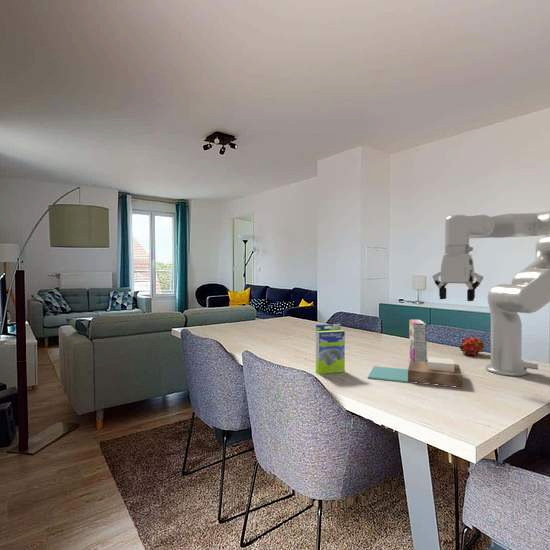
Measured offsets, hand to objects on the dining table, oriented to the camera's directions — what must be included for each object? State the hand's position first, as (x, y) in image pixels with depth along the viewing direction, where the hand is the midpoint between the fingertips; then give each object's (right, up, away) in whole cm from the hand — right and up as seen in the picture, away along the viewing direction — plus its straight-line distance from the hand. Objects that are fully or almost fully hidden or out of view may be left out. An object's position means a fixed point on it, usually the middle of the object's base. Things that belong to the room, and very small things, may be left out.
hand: (456, 299), depth 128 cm
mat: (-23, -27, +2) cm, 35 cm away
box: (-43, -27, +6) cm, 51 cm away
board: (-9, -27, -3) cm, 29 cm away
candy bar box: (-6, -27, +20) cm, 33 cm away
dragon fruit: (+22, -26, +31) cm, 46 cm away
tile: (-7, -23, -4) cm, 24 cm away
